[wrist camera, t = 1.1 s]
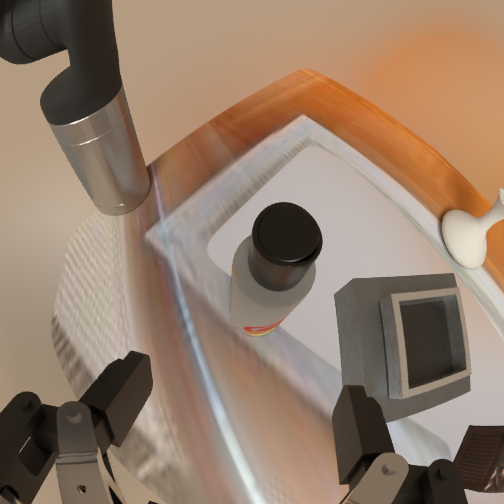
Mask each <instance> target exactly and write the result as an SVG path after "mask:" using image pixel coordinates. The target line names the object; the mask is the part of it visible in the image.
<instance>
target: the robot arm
mask: <svg viewBox="0 0 504 504" xmlns="http://www.w3.org/2000/svg"><path fill="white" fill-rule="evenodd" d="M66 49H68V53H69V57H70V65H71V66H69V67H68V68H67V69H65V70H64V71H63V72H61V73H60V74H59V75H57V77H55V78H54V79H53V80H52V81H51V82H50V83H49V84H48V85H47V87H46V88H45V90H44V91H43V93H42V95H41V98H40V105H41V109H42V111H43V113H44V115H45V117H46V119H47V121H48V123H49V125H50V127H51V129H52V131H53V133H54V135H55V137H56V139H57V141H58V142H59V144H60V146H61V148H62V150H63V152H64V153H65V155H66V157H67V159H68V161H69V162H70V164H71V166H72V168H73V169H74V171H75V173H76V174H77V176H78V178H79V180H80V181H81V183H82V185H83V186H84V188H85V189H86V191H87V193H88V194H89V196H90V198H91V199H92V201H93V202H94V204H95V206H96V207H97V208H98V209H99V211H101V212H102V213H104V214H107V215H122V214H125V213H128V212H129V211H131V210H133V209H135V208H136V207H137V206H139V205H140V204H141V203H142V202H143V201H144V199H145V198H146V196H147V194H148V192H149V189H150V178H149V175H148V172H147V169H146V165H145V163H144V159H143V155H142V152H141V149H140V146H139V142H138V139H137V135H136V132H135V128H134V125H133V121H132V118H131V114H130V110H129V107H128V103H127V99H126V96H125V91H124V87H123V83H122V79H121V75H120V69H119V57H118V49H117V44H116V38H115V31H114V23H113V11H112V0H0V57H1V58H3V59H4V60H6V61H8V62H10V63H13V64H28V63H32V62H35V61H37V60H40V59H42V58H45V57H47V56H50V55H53V54H55V53H58V52H61V51H64V50H66ZM152 387H153V379H152V372H151V364H150V357H149V355H146V354H143V353H139V352H135V351H130V352H129V353H128V355H127V356H126V357H125V358H124V360H122V359H117V360H115V361H114V362H112V363H110V364H109V365H108V366H107V367H106V368H105V369H104V371H103V373H101V374H100V375H99V377H98V379H96V380H95V381H94V383H93V384H92V385H91V386H90V388H89V389H88V390H87V391H86V392H85V394H84V395H83V396H82V397H81V398H80V400H79V401H78V402H77V401H71V402H66V403H64V404H63V405H61V406H60V407H56V406H51V405H46V404H42V403H41V401H40V399H39V397H38V396H37V395H36V394H35V393H33V392H22V393H19V394H17V395H16V396H15V397H14V398H13V399H12V401H10V403H9V404H8V405H7V406H6V407H5V408H4V409H3V411H2V412H1V413H0V504H31V503H32V502H33V500H34V498H35V496H36V494H37V493H38V491H39V489H40V487H41V485H42V484H43V482H44V480H45V478H46V477H47V475H48V473H49V471H50V470H51V468H52V466H53V464H54V463H55V464H56V471H57V478H58V483H59V489H60V494H61V498H62V503H63V504H127V503H126V501H125V499H124V497H123V495H122V493H121V490H120V488H119V486H118V483H117V480H116V477H115V474H114V470H113V467H112V464H111V460H110V457H109V453H108V448H109V446H110V445H111V444H112V445H115V446H117V447H120V446H121V445H122V443H123V441H124V439H125V438H126V436H127V434H128V432H129V430H130V429H131V427H132V425H133V423H134V422H135V420H136V418H137V416H138V415H139V413H140V411H141V409H142V408H143V406H144V404H145V402H146V401H147V399H148V397H149V396H150V394H151V391H152ZM332 424H333V432H334V440H335V448H336V456H337V465H338V474H339V484H340V485H343V484H349V491H348V492H347V494H346V495H345V496H344V497H343V499H342V500H341V501H340V502H339V504H468V502H467V499H466V495H465V491H464V488H463V485H462V482H461V478H460V475H459V472H458V469H457V467H456V465H455V464H454V463H453V462H451V461H449V460H447V459H438V460H436V461H434V462H433V463H432V464H431V465H430V466H429V467H427V466H417V465H410V464H408V463H407V461H406V460H405V459H404V458H403V457H402V456H401V455H399V454H396V453H395V450H394V447H393V444H392V440H391V437H390V434H389V430H388V427H387V424H386V421H385V418H384V417H383V412H382V409H381V406H380V404H379V403H378V402H377V401H376V400H375V399H374V397H367V395H366V392H365V388H364V386H363V385H344V387H343V389H342V391H341V394H340V396H339V399H338V401H337V403H336V406H335V408H334V411H333V416H332ZM29 437H30V439H29V440H28V438H29ZM27 440H28V442H27V443H26V445H25V446H24V444H25V442H26V441H27ZM23 446H24V447H23ZM22 447H23V449H22V450H21V448H22ZM20 450H21V452H20ZM19 452H20V453H19ZM59 455H60V457H58V456H59ZM148 504H158V503H155V502H151V501H149V503H148Z"/></svg>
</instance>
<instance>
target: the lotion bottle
mask: <svg viewBox="0 0 504 504" xmlns="http://www.w3.org/2000/svg"><path fill="white" fill-rule="evenodd" d="M322 243H323V241H322V234H321V231H320V228H319V226H318V224H317V222H316V221H315V219H314V218H313V217H312V216H311V215H310V214H309V213H308V212H307V211H306V210H305V209H303V208H302V207H300V206H298V205H296V204H293V203H288V202H279V203H275V204H272V205H270V206H268V207H266V208H265V209H264V210H263V211H262V212H261V213H260V214H259V215H258V217H257V218H256V220H255V222H254V225H253V229H252V234H251V235H250V236H249V237H247V238H246V239H245V240H244V241H243V242H242V243H241V244H240V246H239V247H238V249H237V251H236V253H235V255H234V259H233V264H232V278H231V304H230V314H231V319H232V322H233V324H234V326H235V327H236V329H237V330H238V331H240V332H241V333H242V334H244V335H247V336H250V337H261V336H264V335H266V334H268V333H270V332H271V331H273V330H274V329H275V328H276V327H277V326H278V325H279V324H280V323H281V322H282V321H283V320H284V319H285V318H286V317H287V316H288V315H289V314H290V313H291V311H293V310H294V308H295V307H296V306H297V305H298V304H299V303H300V302H301V301H302V300H303V299H304V298H305V297H306V295H307V294H308V293H309V291H310V290H311V288H312V285H313V283H314V280H315V274H316V268H315V260H316V259H317V257H318V255H319V254H320V251H321V249H322Z"/></svg>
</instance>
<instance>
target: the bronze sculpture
mask: <svg viewBox="0 0 504 504" xmlns="http://www.w3.org/2000/svg"><path fill="white" fill-rule="evenodd" d="M453 463H454V464H455V465H456V467H457V469H458V472H459V475H460V478H461V482H462V485H463V488H464V489H469V490H473V491H477V492H484V493H503V492H504V426H472V425H470V426H469V427H468V430H467V432H466V434H465V436H464V438H463V441H462V443H461V446H460V448H459V450H458V452H457V455H456V457H455V459H454V461H453Z"/></svg>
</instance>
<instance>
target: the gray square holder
mask: <svg viewBox="0 0 504 504" xmlns="http://www.w3.org/2000/svg"><path fill="white" fill-rule="evenodd" d="M334 298H335V306H336V315H337V324H338V333H339V343H340V355H341V368H342V383H343V387H344V385H363V386H364V388H365V392H366V395H367V397H374V399H375V400H376V401H377V402H378V403H379V404H380V406H381V409H382V412H383V417H384V418H385V421H386V423H388V422H391V421H395V420H398V419H401V418H404V417H407V416H410V415H413V414H416V413H419V412H421V411H424V410H427V409H430V408H432V407H435V406H437V405H440V404H442V403H445V402H447V401H449V400H451V399H454V398H456V397H458V396H461V395H463V394H465V393H467V392H469V391H470V375H471V364H470V353H469V344H468V336H467V329H466V322H465V316H464V311H463V305H462V300H461V295H460V291H459V287H457V284H456V280H455V276H454V273H447V274H432V275H416V276H398V277H378V278H356V279H352V280H351V281H350V282H349V283H347V284H346V285H345V286H344V287H343V288H341V289H340V290H339V291H338V292H337V293H335V294H334Z"/></svg>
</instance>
